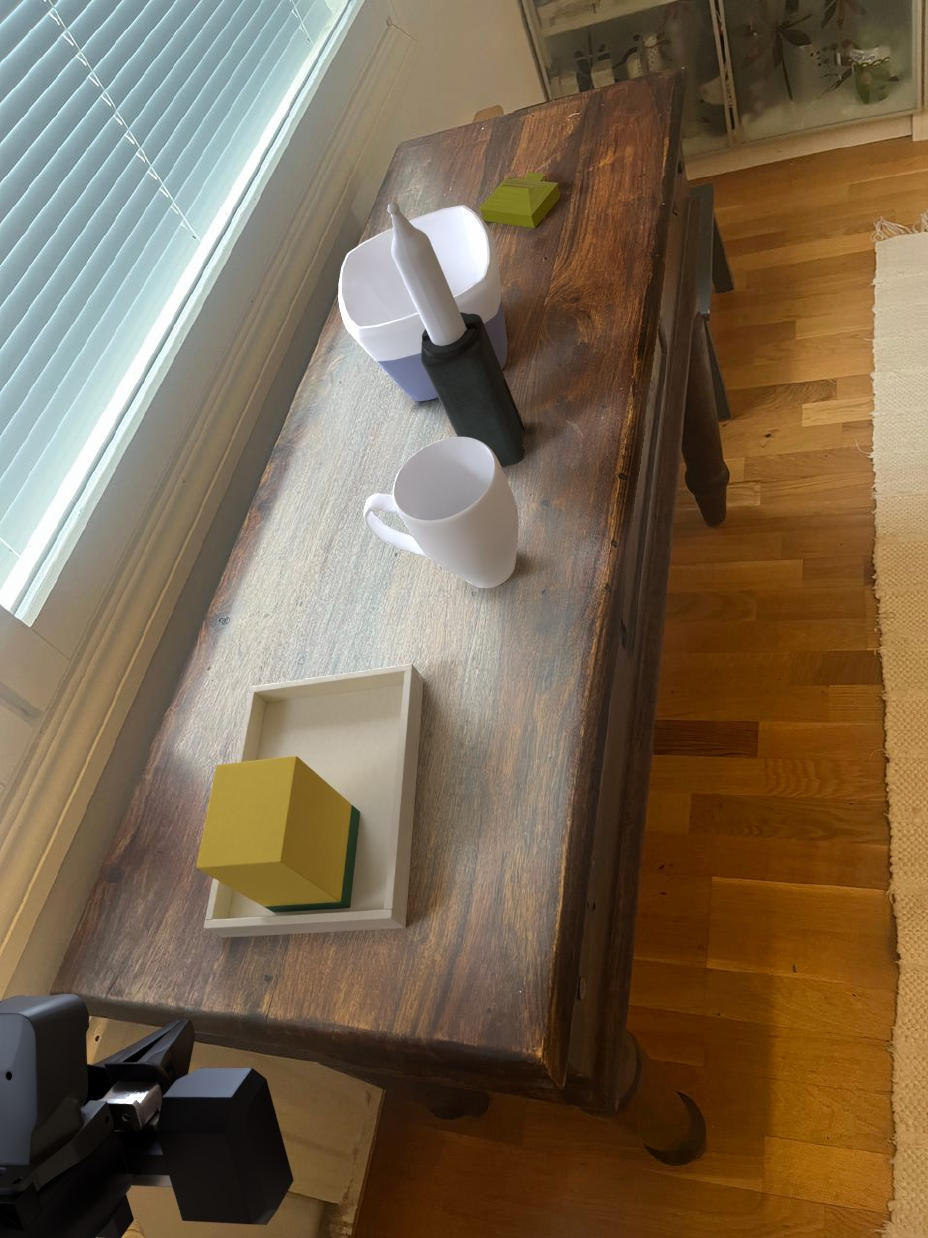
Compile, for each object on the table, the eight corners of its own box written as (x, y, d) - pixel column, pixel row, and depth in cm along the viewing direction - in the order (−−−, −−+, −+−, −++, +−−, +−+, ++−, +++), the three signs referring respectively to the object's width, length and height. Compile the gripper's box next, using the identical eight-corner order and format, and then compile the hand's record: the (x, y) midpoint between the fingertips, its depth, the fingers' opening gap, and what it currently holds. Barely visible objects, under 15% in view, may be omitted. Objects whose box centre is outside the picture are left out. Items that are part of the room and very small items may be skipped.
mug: (543, 522, 77) (503, 427, 68) (534, 605, 73) (490, 516, 64) (411, 536, 81) (357, 448, 72) (395, 616, 77) (336, 533, 68)
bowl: (541, 378, 87) (507, 281, 78) (390, 435, 89) (340, 347, 81) (511, 283, 96) (478, 187, 87) (375, 337, 99) (329, 249, 90)
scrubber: (350, 908, 64) (280, 861, 56) (273, 913, 66) (195, 868, 58) (360, 811, 68) (296, 755, 60) (287, 818, 69) (216, 764, 62)
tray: (405, 928, 62) (391, 918, 60) (222, 938, 66) (202, 928, 64) (424, 678, 73) (412, 663, 71) (264, 700, 77) (249, 686, 75)
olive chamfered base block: (466, 228, 104) (458, 205, 102) (511, 176, 107) (503, 153, 104) (538, 239, 98) (531, 215, 96) (583, 183, 101) (577, 159, 99)
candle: (526, 461, 82) (424, 214, 62) (471, 473, 83) (354, 235, 63) (524, 420, 84) (427, 170, 65) (471, 432, 86) (360, 192, 66)
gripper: (115, 1102, 31) (308, 878, 46) (-279, 1098, 37) (6, 899, 51) (197, 1376, 33) (357, 1077, 48) (-189, 1333, 39) (61, 1077, 53)
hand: (187, 1027), depth 50 cm, fingers closed
